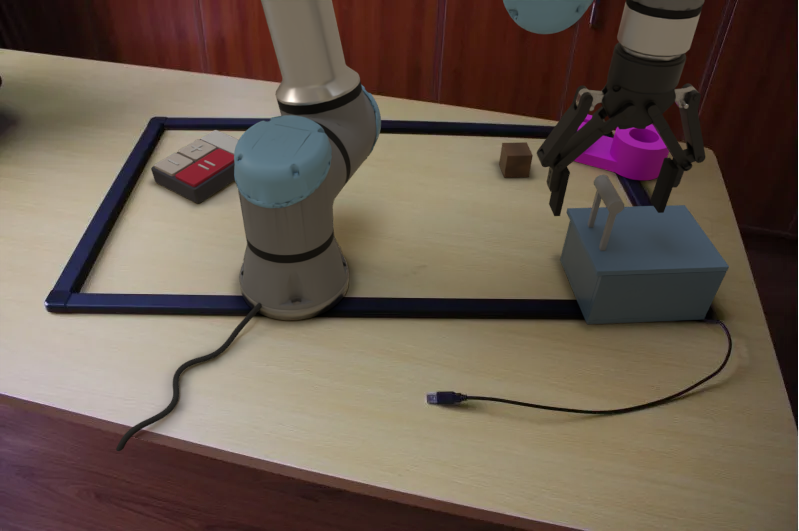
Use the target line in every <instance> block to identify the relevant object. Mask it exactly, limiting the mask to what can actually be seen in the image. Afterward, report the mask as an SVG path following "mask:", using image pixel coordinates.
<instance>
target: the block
mask: <svg viewBox="0 0 799 531" xmlns="http://www.w3.org/2000/svg"><path fill="white" fill-rule="evenodd" d="M533 157H534V155H533V153H532V151H531V149H530V146H529V144H528V142H526V141H525V142H502V143H501V148H500V155H499V161H498V165H499V168H500V170H501V173H502V176H503V178H504V179H505V178H506V179H507V178H529V177H530V172H531V167H532V163H533V162H532V161H533Z"/></svg>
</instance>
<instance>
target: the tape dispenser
mask: <svg viewBox="0 0 799 531" xmlns="http://www.w3.org/2000/svg"><path fill="white" fill-rule="evenodd" d="M592 115H593V114H588V115H587V117H586V118H585V120H584V121H583V122H582V124H581V125H580V126H579V128H578V129H577V130H576V132H577V131H578V130H579V129H580V128H581V127H583V126H584V125H585V124H586V123H587V122H588V121H589V120H590V119H591V118H592ZM669 154H670V152H669V150H668V149H667V147H666V145H665V144H664V142H663V141H662V139H661V137H660V136H659V134H658V132H657V131H656V129H655V127H654V126H653V124H651V125H649V126H647V127H646V128H645V129H637V128H629V129H619V128H618V127H616V128H615V132H614V135H613V137H609V136H607V135H603V136H602V137H601V138H599V139H598V140H597V141H596V142H595V143H594V144H593V145H591V146H590V147H589V148H588V149H587V150H586V151H584V152H583V153H582V154H581V155H580V156H579V157H578V158H576V159H575V160H574V161H573V162H576V163H580V164H584V165H587V166H591V167H594V168H597V169H601V170H606V171H608V172H612V173H615V174H617V175H619V176H620V177H623V178H626V179H629V180H634V181H652V180H655V179H658V176H659V173H660V170H661V167H662V164H663V161H664V158H669V157H668V156H669Z"/></svg>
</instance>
